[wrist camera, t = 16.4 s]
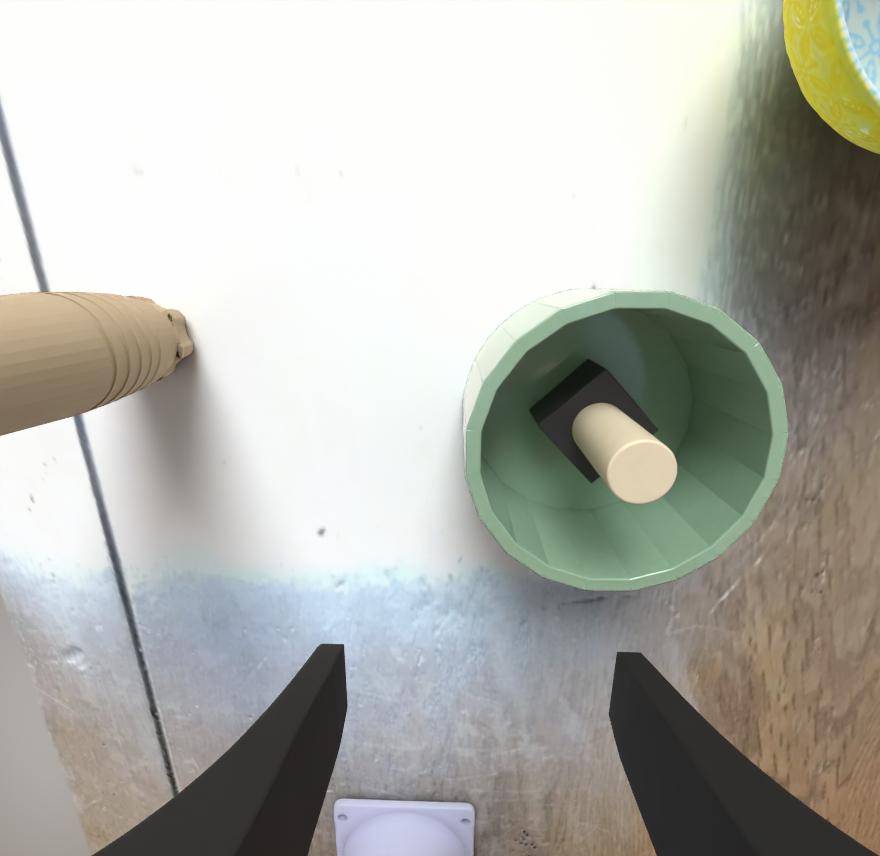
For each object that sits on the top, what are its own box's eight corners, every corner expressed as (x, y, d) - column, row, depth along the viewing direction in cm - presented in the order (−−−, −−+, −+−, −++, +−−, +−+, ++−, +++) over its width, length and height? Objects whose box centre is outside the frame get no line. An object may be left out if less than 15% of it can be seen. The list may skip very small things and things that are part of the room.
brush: (636, 413, 21) (722, 476, 14) (576, 461, 21) (631, 544, 15) (588, 357, 20) (654, 395, 13) (528, 409, 21) (562, 470, 14)
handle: (247, 379, 21) (-188, 580, 7) (109, 402, 22) (-560, 635, 7) (214, 264, 20) (-409, 219, 6) (68, 291, 20) (-843, 316, 6)
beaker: (678, 514, 22) (755, 594, 17) (461, 511, 23) (462, 588, 17) (713, 288, 20) (820, 291, 14) (464, 288, 20) (468, 290, 14)
